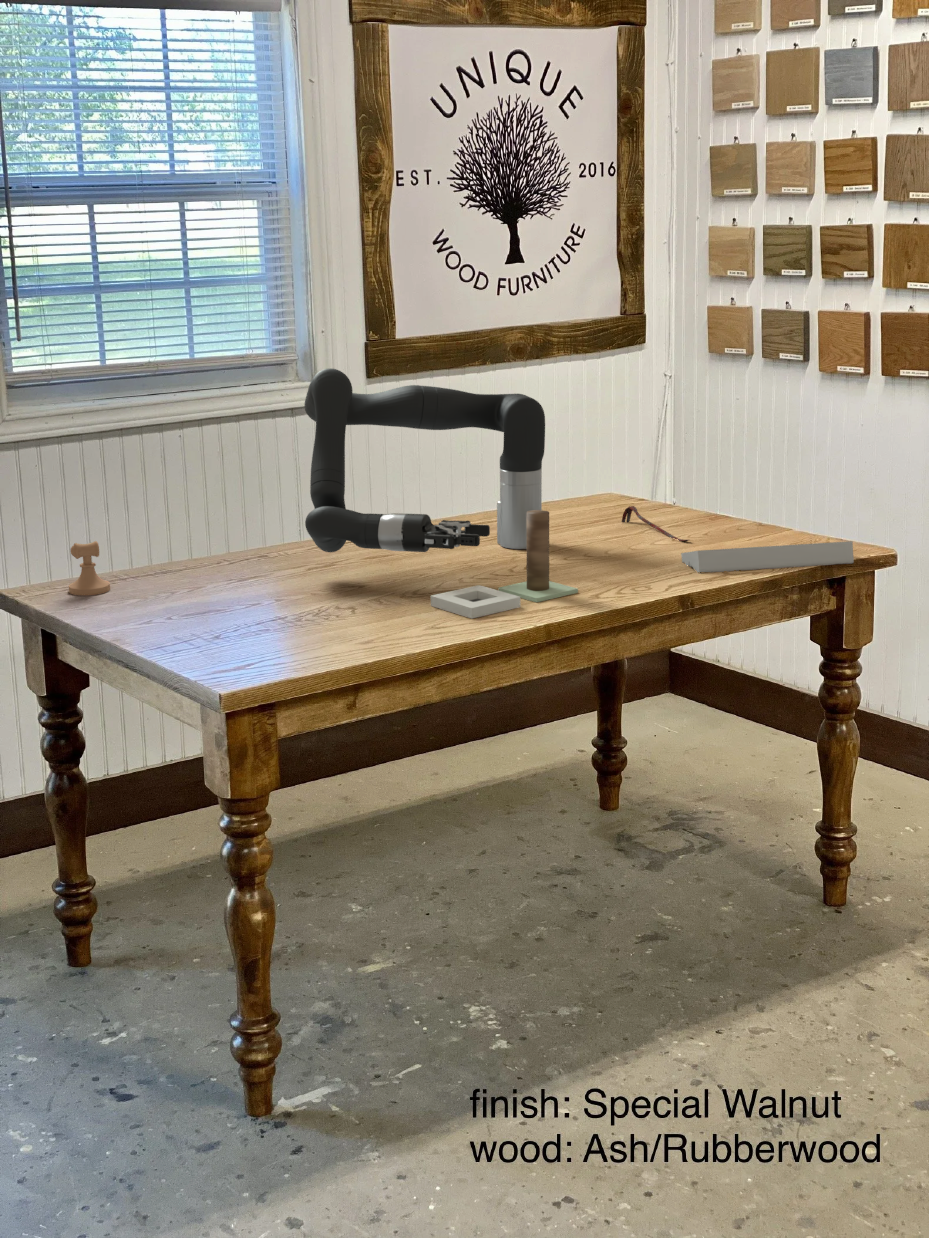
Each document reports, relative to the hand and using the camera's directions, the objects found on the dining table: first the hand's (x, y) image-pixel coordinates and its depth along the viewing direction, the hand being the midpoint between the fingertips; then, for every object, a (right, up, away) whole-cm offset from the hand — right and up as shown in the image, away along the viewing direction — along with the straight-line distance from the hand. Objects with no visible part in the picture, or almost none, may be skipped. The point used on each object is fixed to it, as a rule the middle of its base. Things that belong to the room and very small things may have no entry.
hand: (484, 535), depth 285 cm
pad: (+10, -11, -1) cm, 15 cm away
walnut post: (+10, -10, -1) cm, 15 cm away
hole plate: (-2, -14, -11) cm, 18 cm away
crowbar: (+40, +3, +51) cm, 65 cm away
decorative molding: (+60, -5, +21) cm, 63 cm away
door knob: (-79, -11, +5) cm, 79 cm away
